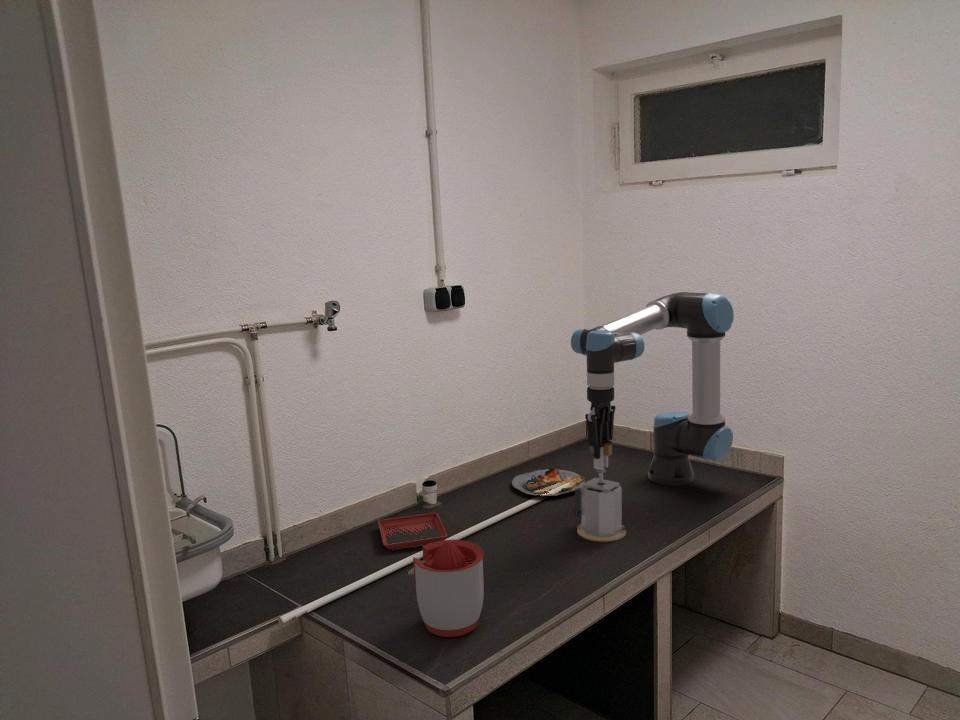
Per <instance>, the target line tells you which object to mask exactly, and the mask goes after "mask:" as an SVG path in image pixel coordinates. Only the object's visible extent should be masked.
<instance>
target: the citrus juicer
mask: <svg viewBox="0 0 960 720" xmlns="http://www.w3.org/2000/svg"><path fill="white" fill-rule="evenodd" d="M484 555H485V553H484V551H483V549H482V547H480V546H479V545H478V544H476V543H474V542H471V541H467V540H461V539H444V540H442V541H436V542H432V543H429V544H427V545H424V546H422V560H421V559H420V558H417V557H413V558H412V564H413V567H412V568H411V569H409V570H408V572H407V575H413V580H415V591H416V592H415V593H416V600H417V606H418V609H419V614H420V615H421V619H422V620H421V621H423V624H424V625H425V627H426V630H427V631H428V632H430V633H431V634H433V635H436V636H438V637H443V638H454V637H463V636H464V635H467V634H470V632H472V631H473V630H474V629H475V628H476V627H477V625H478V623H479V620H480V617H481V614H482V613H481V612H482V609H483V605H484V604H483V603H484V592H485V591H484V589H485V588H484V587H485V586H484V564H483V561H484V560H483V558H484Z"/></svg>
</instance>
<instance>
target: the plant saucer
mask: <svg viewBox="0 0 960 720" xmlns="http://www.w3.org/2000/svg"><path fill="white" fill-rule="evenodd" d="M377 523H378V527H379V531H380V532H379V533H380V536H381V537H380V538H381V539H382V540H381V541H382V545H383V546H384V547H385V548H386V549H388V550H389V549H396V548H403V547H410V546H417V545H426V544H429V543H432V542H436V541H442V540H446V539H447V537H448V534H447V531H446V529H445V527H444V525H443V523H442V520H441V518H440V516H439V513H437V512H430V513H429V512H428V513H424V514H423V513H421V514H415V515H409V516H408V515H407V516H399V517H393V518H385V519H380V520H378V521H377ZM428 523H429V524H428ZM425 524H426V526H427V525H428V527H430V529H433V527H435V528H436V530H437V531H438V533H439V535H440V537H435V538H427V539H420V540H413V541H406V542H399V543H392V544H388V543H387V538H386V535H387V534H388V533H389V535H390V534H391V533H393V532H394V531H395V530H396V529H397V528H398V527H399V529H401V530H403V531H405V532H407V531H408V530H409V531H411V532H413V533H414V531H416V532H418V531H419V530H420V531H421V529H423V530H424V527H425V529H427V527H426V526H425ZM430 524H431V525H430ZM432 525H433V526H432ZM422 526H423V527H422ZM396 527H397V528H396ZM387 528H390V529H391V530H389V529H387ZM392 528H395V530H394V529H392ZM404 528H405V529H407V531H406V530H405V529H404ZM410 528H411V529H410ZM415 528H416V529H418V531H417V530H416V529H415ZM420 528H421V529H420ZM385 529H386V530H387V531H386V530H385ZM392 530H393V532H392ZM413 530H414V531H413ZM388 531H389V532H388ZM397 531H399V532H401V533H403V532H402V531H400V530H398V529H397ZM397 531H395V532H397ZM390 532H391V533H390ZM421 532H422V531H421ZM386 533H387V534H386ZM407 533H408V532H407ZM418 533H419V532H418ZM393 534H394V533H393ZM403 534H404V533H403ZM409 534H411V533H409ZM415 534H416V533H415ZM389 535H387V536H389ZM395 535H396V534H395ZM405 535H406V534H405ZM411 535H412V534H411ZM416 535H417V534H416ZM391 536H392V534H391ZM389 537H390V536H389ZM421 537H422V536H421Z"/></svg>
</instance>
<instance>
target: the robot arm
mask: <svg viewBox="0 0 960 720" xmlns="http://www.w3.org/2000/svg"><path fill="white" fill-rule="evenodd" d="M734 316H735V314H734V308H733V305H732V303H731V301H730V300H729V299H728V297H726V296H725V295H723V294H718V293H717V294H716V293H713V292H688V291H679V292H673V293H670V294H667V295H664V296H662V297H659V298H657V299H654V300H651V301H648V303H646V305H645V307H643V308H641V309H638V310H635V311H633V312H630V313H628V314H625V315H623V316H621V317H618V318H615V319H613V320H611V321H609V322H606V323H603V324H601V325H599V326H596V327H593V328H591V329H587V328H583V329H581V328H579V329H576V330H575V331H574V332H573V333H572V336H571V337H570V338H571V339H570V346H571V349H572V351H574V353H576V354H579V355H583V356H586V385H587V386H588V387H587V388H586V399H587V401H588V402H590V408H589V409H590V410H589V411H590V412H589V413H585V415H584V416H585V420H586V426H587V439H588V440H587V441H588V446H589V447H590V446H592V447H593V448H594V453H593V469H594V470H596V469H599V470H603V469H604V468H609V456H605V455H603V447H602V442H604V443H609V444H612V445H613V441H612V440H613V437H614V422H615V421H614V420H615V411H616V408H617V407H616V406H615V405H612V404H611V403H612V402H613V401H614V400H615V388H614V386H615V363H621V362H625V361H633V360H634V359H637V358H639V357H641V356H642V355H643V354H644V352H645V346H646V345H645V341H644V338H643V337H642V335H644V334H646V333H648V332H650V331H653V330H658V331H659V330H664V329H666V328H678V329H679V328H680V329H686V337H687V338H688V339H689V340H690V341H691V342H692V343H691V357H692V358H691V361H692V362H691V364H692V365H691V374H692V375H691V376H692V378H691V379H692V382H691V383H692V384H691V385H692V387H691V388H692V389H691V391H692V394H691V395H692V399H691V400H692V401H691V402H692V413H691V414H690V413H688V411H687V412H686V411H668V412H663V413H658V414H657V415H655V417H654V419H653V422H654V423H653V427H652V428H653V458H652V460H651V464H650V465H649V468H648V471H647V472H648V473H647V475H648V477H647V478H648V479H649V481H651V482H653V483H655V484H658V485H661V486H662V485H663V486H671V487H672V486H673V487H678V486H686V485H689V484H691V483H692V482H693V481H694V475H695V473H694V469H693V468H692V464H691V461H690V456H692V457H696V458H700V459H703V460H704V461H705V460H706V461H712V462H718V461H721V460H722V459H724V458H725V457H726V456H727V455H728V454H729V451H730V450H731V448H732V446H733V445H732V444H733V441H734V432H733V431H732V429H731V428H730V427H728V426H726V418H725V416H723V415H722V414H721V341H722V340H723V339H724V338H725V337H726V332H728V331H729V330H730V329H731V328H732V326H733V325H732V323H734Z"/></svg>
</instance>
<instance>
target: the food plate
mask: <svg viewBox="0 0 960 720" xmlns="http://www.w3.org/2000/svg"><path fill="white" fill-rule="evenodd" d="M535 477H536V479H537V481H539V482H536V483H534V482H533V483H534V484H531V483H528V484H525V483H526V482H527V481H528V480H531V478H533V479H534V478H535ZM585 479H586V478H585V476H582V475H580V474H579V473H577V472H574V471H572V470H571V471H570V470H565V469H558V468H557V467H556V468H552V467H551V468H545V469H537V470H533V471H532V470H531V471H528V472H525V473H522V474H519V475H516V476H515V477H513V479H512V481H511V485H512V487H513V488H515V489H516V490H517V491H519V492H521V493H525V494H527V495H532V496H537V495H541V494H545V493H546V494H547V493H549V492H544V491H549V490H550V489H554V488H556V487H558V486H561V485H564V484H566V483H570V484H569V487H566V488H562V489H561V491H559V493H556V494H553V495H552V494H550V495H541V497H544V496H545V497H547V496H550V497H551V496H552V497H553V496H560V495H563V494H564V495H565V494H567V493H571V492H575V489H577V488H581V485H582V484H584V483H586V482H587V480H585ZM546 483H550V484H554V483H556V484H554V485H551V486H548V487H545V488H543V489H540V490H539V489H538V490H533V491H532V492H531V491H530V490H532V489H537V488H540V487H544V486H546V485H547V484H546ZM524 484H525V485H526V487H527V488H528V489H530V490H527V488H525V487H524V488H525V489H524V488H523V485H524ZM534 493H536V494H534Z"/></svg>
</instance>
